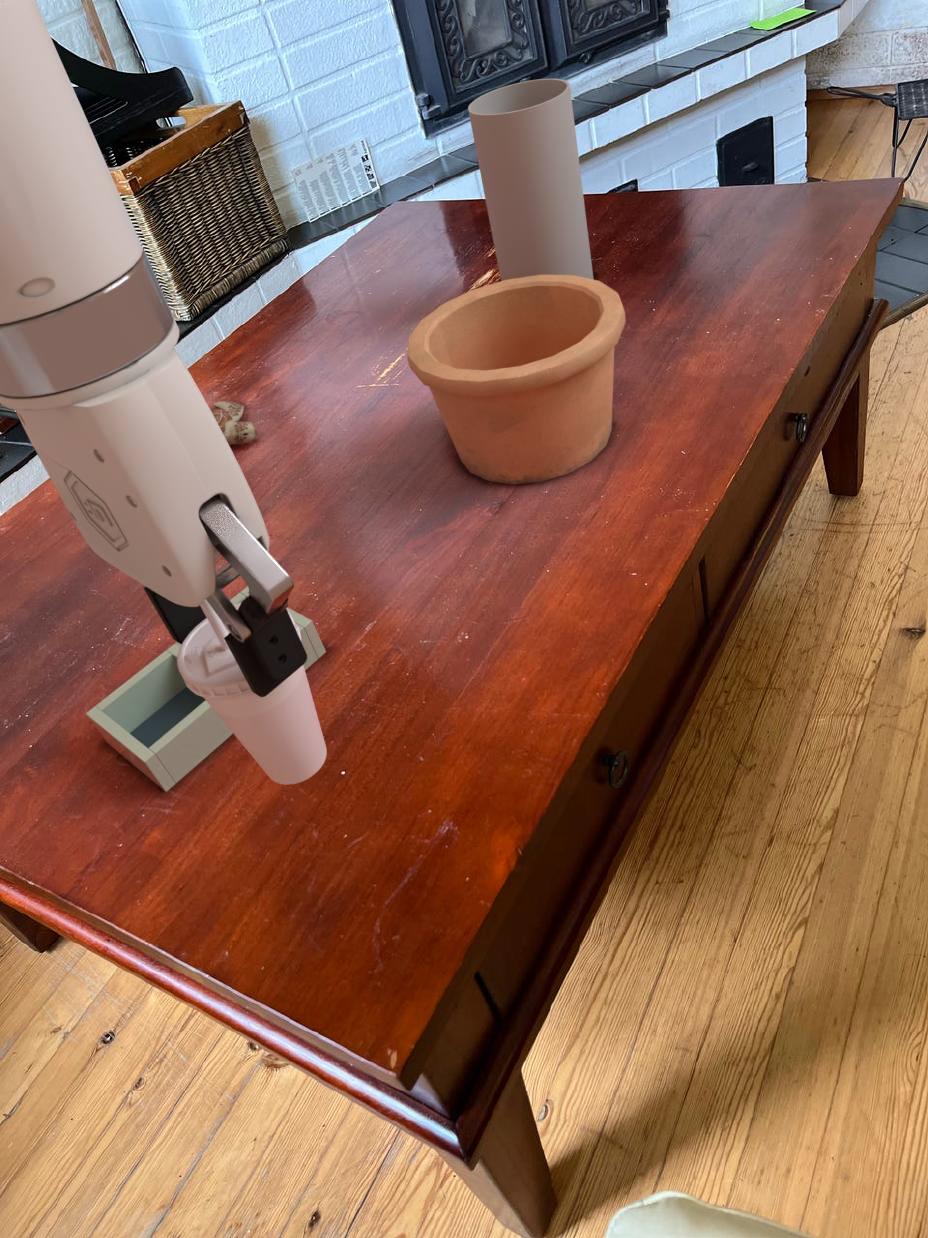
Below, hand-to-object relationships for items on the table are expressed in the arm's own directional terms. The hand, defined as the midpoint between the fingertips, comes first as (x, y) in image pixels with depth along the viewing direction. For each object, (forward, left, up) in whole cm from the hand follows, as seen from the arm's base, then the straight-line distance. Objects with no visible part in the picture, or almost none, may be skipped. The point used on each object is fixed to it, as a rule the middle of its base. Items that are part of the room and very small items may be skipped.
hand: (239, 649), depth 47 cm
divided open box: (+5, +25, -25) cm, 36 cm away
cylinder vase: (+80, +46, -25) cm, 96 cm away
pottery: (+49, +24, -25) cm, 60 cm away
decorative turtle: (+31, +64, -25) cm, 76 cm away
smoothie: (0, 0, -9) cm, 9 cm away
